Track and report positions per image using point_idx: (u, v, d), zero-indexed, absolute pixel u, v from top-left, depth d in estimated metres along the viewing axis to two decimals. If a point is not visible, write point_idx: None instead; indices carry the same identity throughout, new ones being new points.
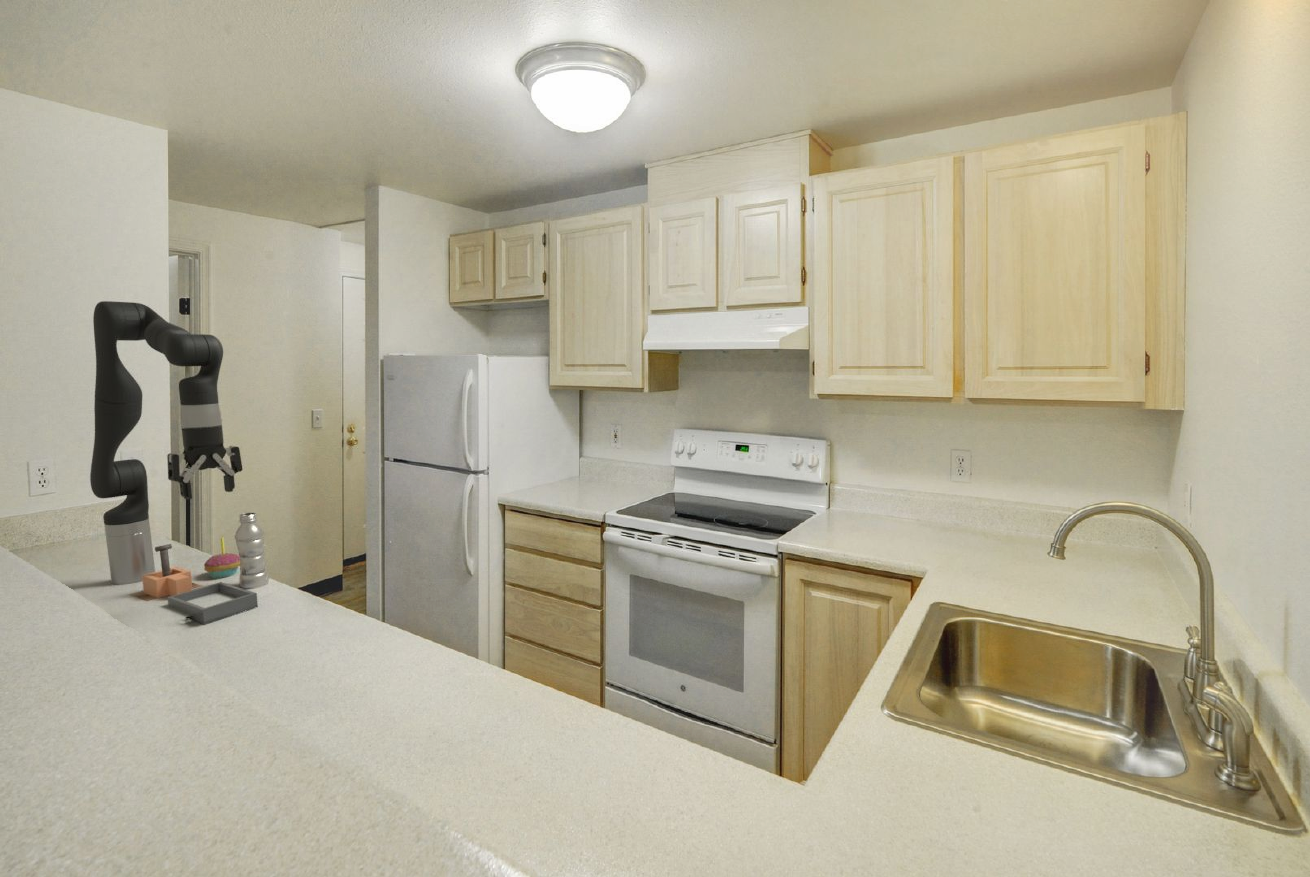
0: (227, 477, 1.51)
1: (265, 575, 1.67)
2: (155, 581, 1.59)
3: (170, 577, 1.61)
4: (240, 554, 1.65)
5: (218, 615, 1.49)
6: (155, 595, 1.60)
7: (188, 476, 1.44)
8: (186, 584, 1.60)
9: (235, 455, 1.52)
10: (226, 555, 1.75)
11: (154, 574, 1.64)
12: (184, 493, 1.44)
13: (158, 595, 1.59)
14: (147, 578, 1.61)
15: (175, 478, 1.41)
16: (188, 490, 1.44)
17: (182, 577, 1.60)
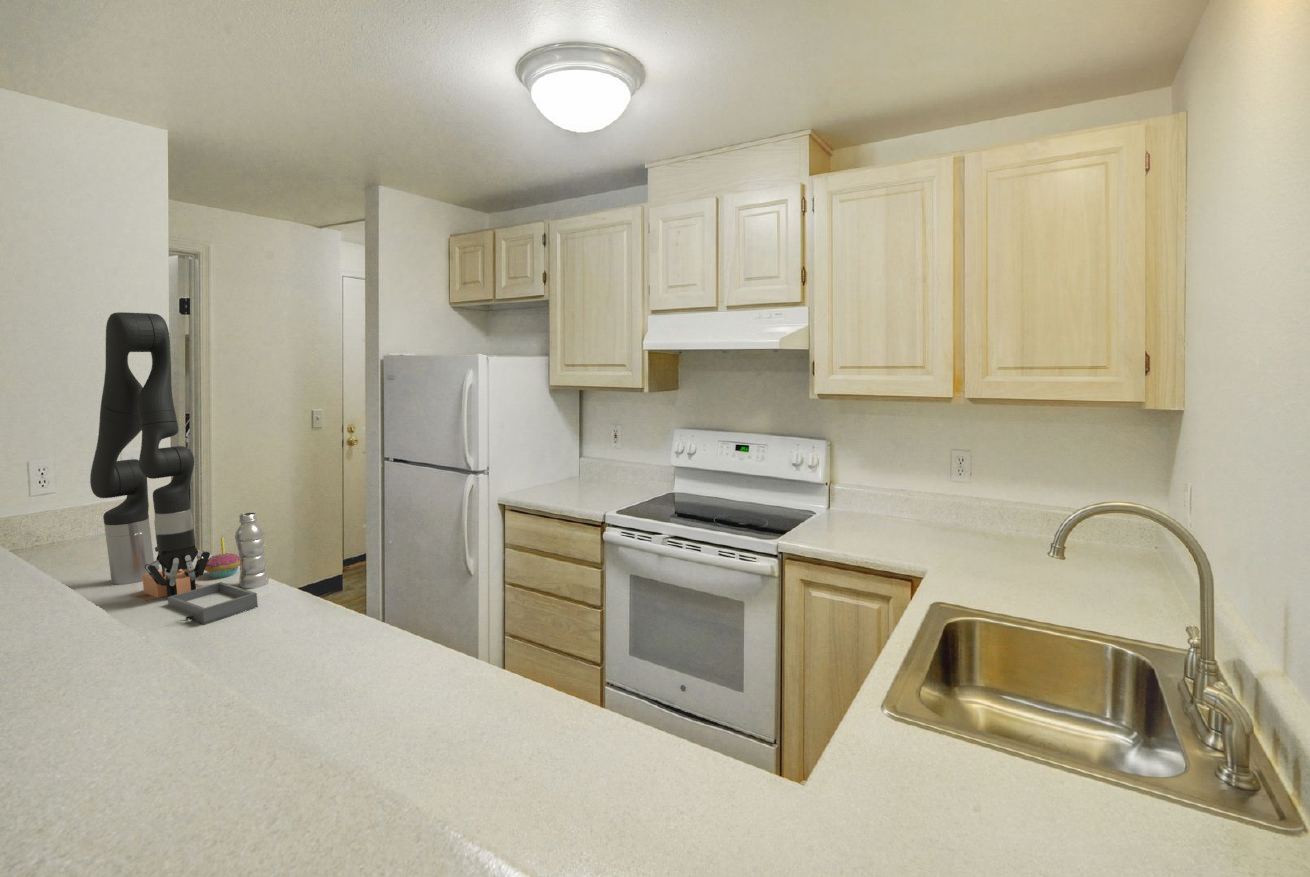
0: None
1: (265, 575, 1.67)
2: None
3: None
4: (240, 554, 1.65)
5: (218, 615, 1.49)
6: (155, 595, 1.60)
7: (172, 579, 1.58)
8: (186, 584, 1.60)
9: (203, 559, 1.63)
10: (226, 555, 1.75)
11: None
12: (170, 595, 1.58)
13: (158, 595, 1.59)
14: (147, 578, 1.61)
15: (162, 583, 1.56)
16: (174, 592, 1.58)
17: (182, 577, 1.60)
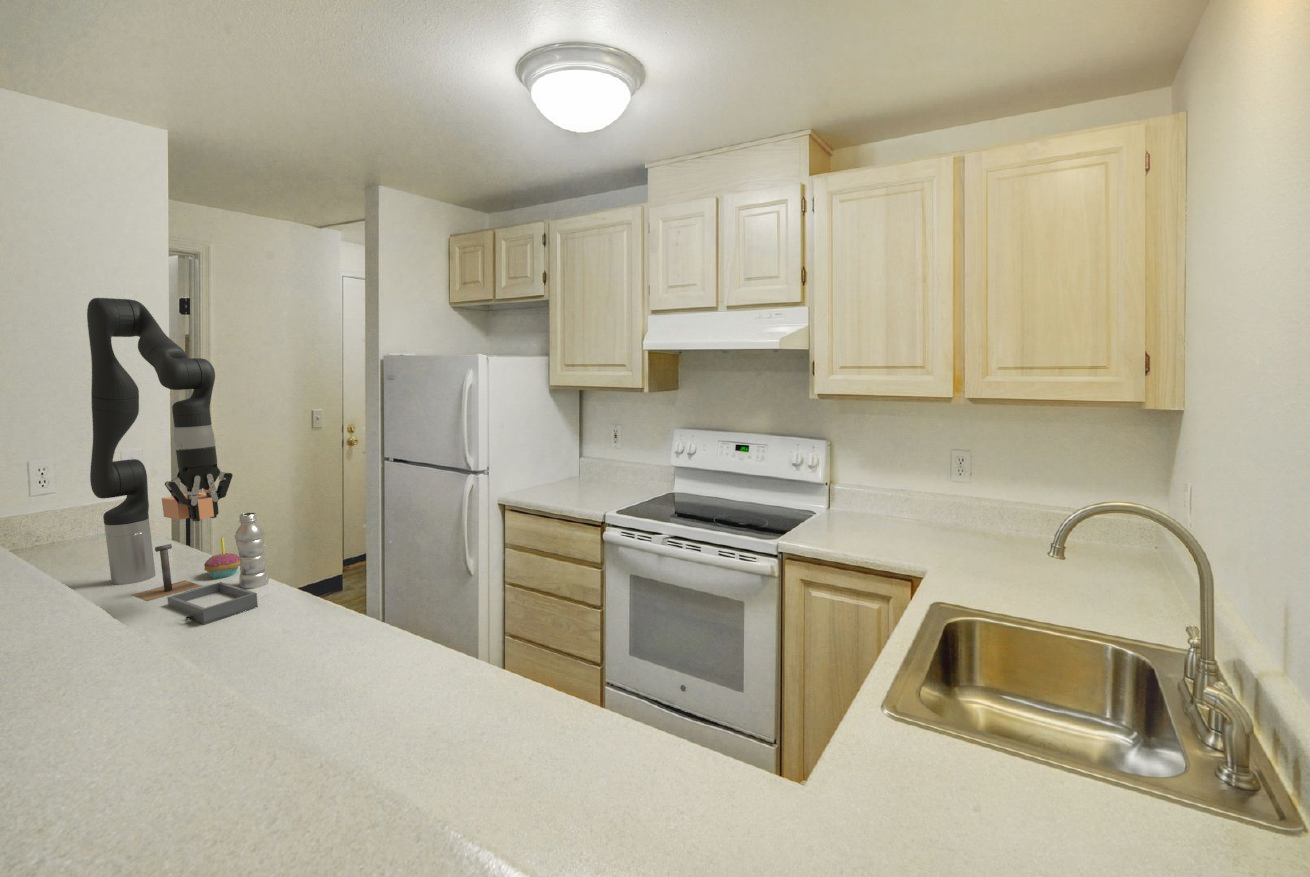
0: None
1: (265, 575, 1.67)
2: (176, 502, 1.50)
3: None
4: (240, 554, 1.65)
5: (218, 615, 1.49)
6: (176, 517, 1.51)
7: (194, 499, 1.49)
8: (208, 505, 1.51)
9: (226, 480, 1.55)
10: (226, 555, 1.75)
11: None
12: (192, 515, 1.49)
13: (179, 517, 1.50)
14: (167, 500, 1.52)
15: (183, 501, 1.47)
16: (196, 512, 1.49)
17: (204, 498, 1.51)
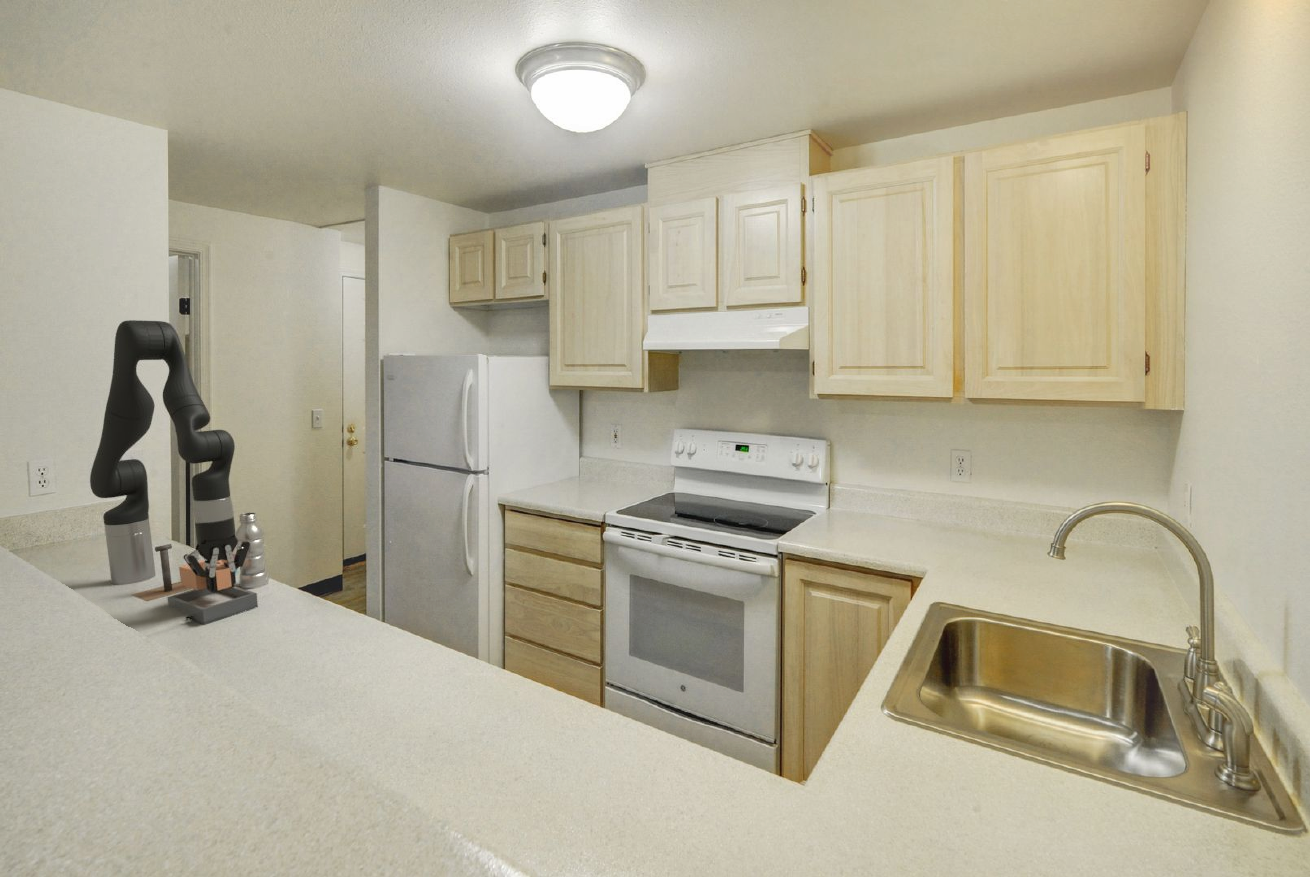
0: None
1: (265, 575, 1.67)
2: None
3: None
4: None
5: (218, 615, 1.49)
6: (194, 587, 1.51)
7: (212, 571, 1.49)
8: (226, 576, 1.52)
9: (243, 550, 1.55)
10: None
11: None
12: (210, 587, 1.49)
13: (197, 587, 1.51)
14: (185, 569, 1.52)
15: (202, 574, 1.47)
16: (214, 584, 1.50)
17: (222, 569, 1.51)
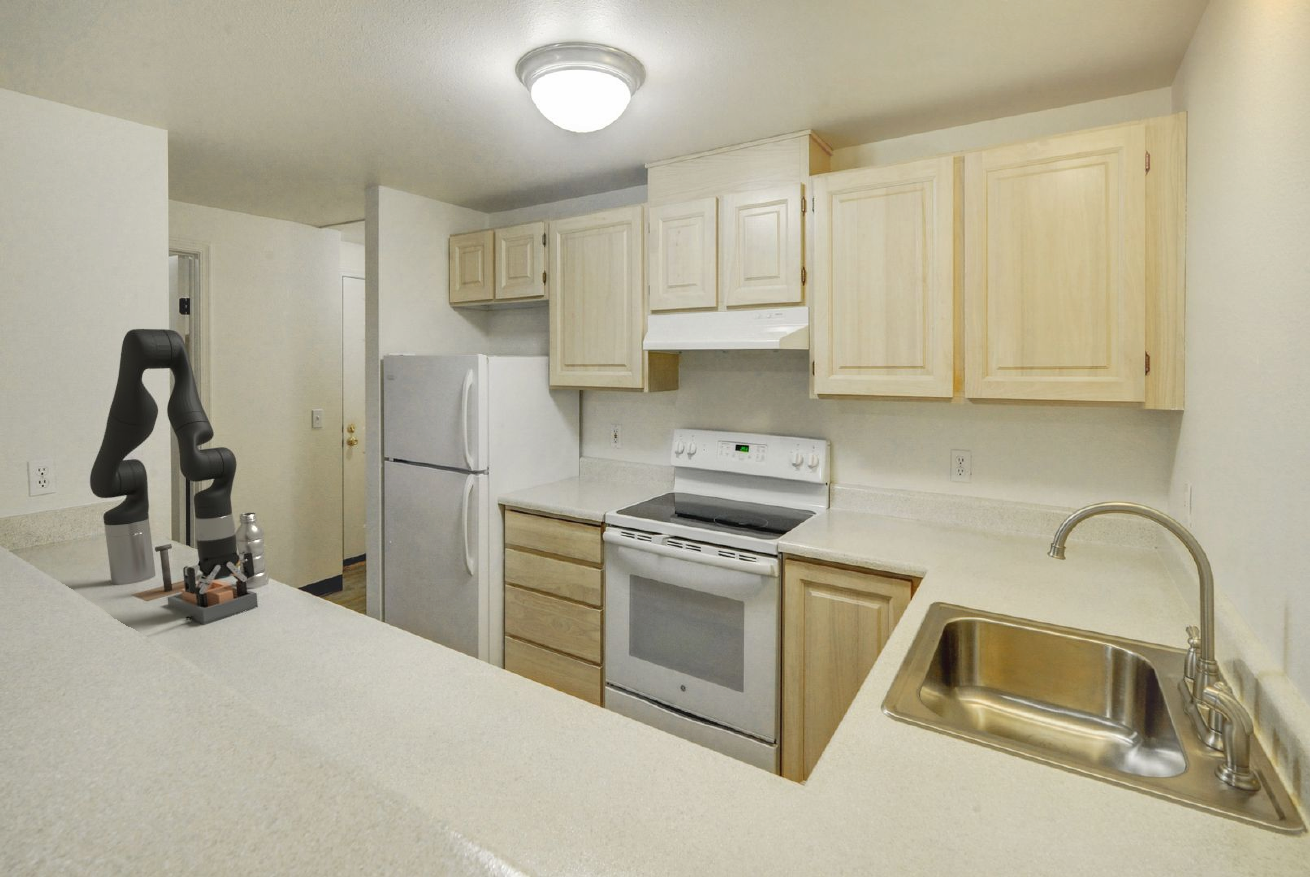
0: (240, 583, 1.55)
1: (265, 575, 1.67)
2: None
3: (212, 591, 1.53)
4: None
5: (218, 615, 1.49)
6: None
7: (204, 587, 1.48)
8: (229, 599, 1.52)
9: (248, 561, 1.56)
10: None
11: None
12: (200, 604, 1.48)
13: None
14: (187, 592, 1.53)
15: (192, 591, 1.46)
16: (204, 600, 1.48)
17: (224, 592, 1.52)
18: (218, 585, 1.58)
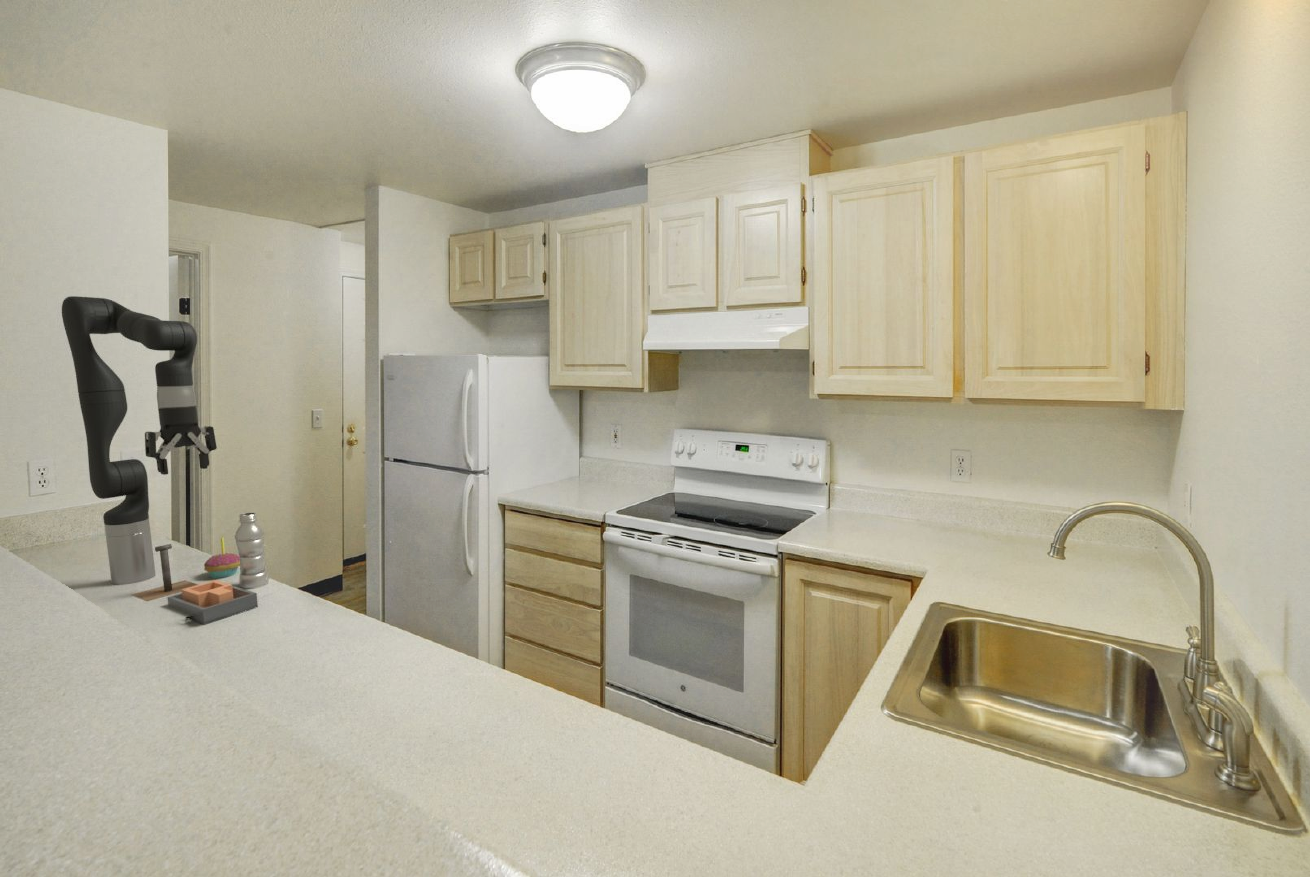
0: (202, 455, 1.62)
1: (265, 575, 1.67)
2: (197, 596, 1.51)
3: (212, 591, 1.53)
4: (240, 554, 1.65)
5: (218, 615, 1.49)
6: None
7: (164, 453, 1.54)
8: (229, 599, 1.52)
9: (209, 434, 1.62)
10: (226, 555, 1.75)
11: (194, 588, 1.56)
12: (161, 469, 1.54)
13: None
14: (187, 592, 1.53)
15: (152, 454, 1.52)
16: (164, 466, 1.54)
17: (224, 592, 1.52)
18: (218, 585, 1.58)
